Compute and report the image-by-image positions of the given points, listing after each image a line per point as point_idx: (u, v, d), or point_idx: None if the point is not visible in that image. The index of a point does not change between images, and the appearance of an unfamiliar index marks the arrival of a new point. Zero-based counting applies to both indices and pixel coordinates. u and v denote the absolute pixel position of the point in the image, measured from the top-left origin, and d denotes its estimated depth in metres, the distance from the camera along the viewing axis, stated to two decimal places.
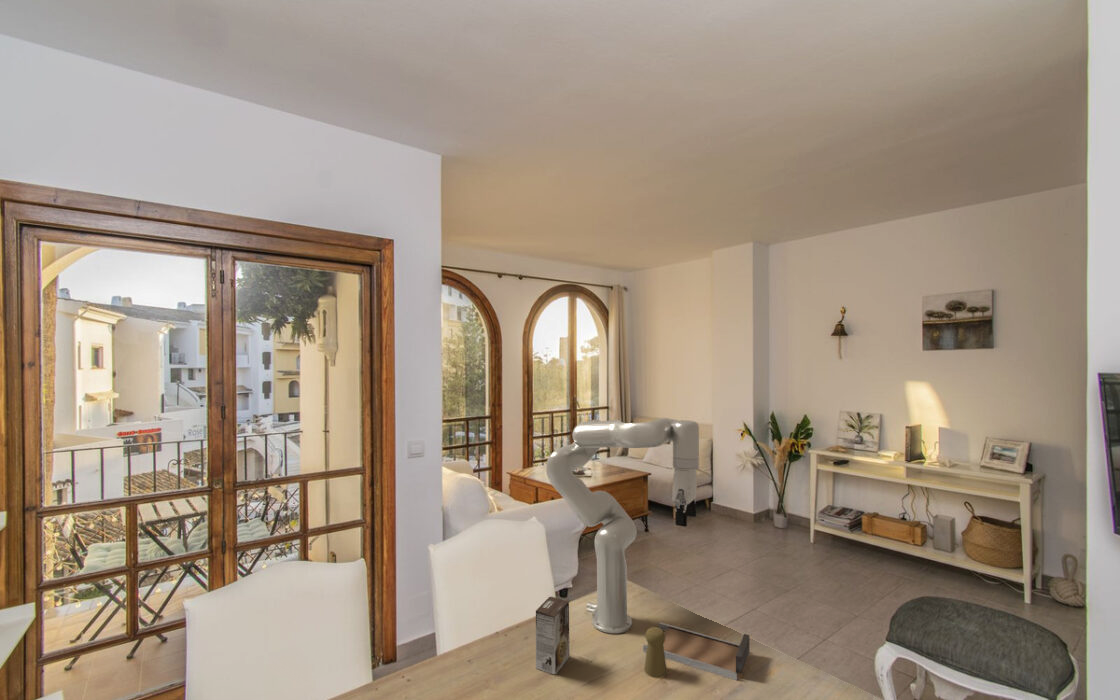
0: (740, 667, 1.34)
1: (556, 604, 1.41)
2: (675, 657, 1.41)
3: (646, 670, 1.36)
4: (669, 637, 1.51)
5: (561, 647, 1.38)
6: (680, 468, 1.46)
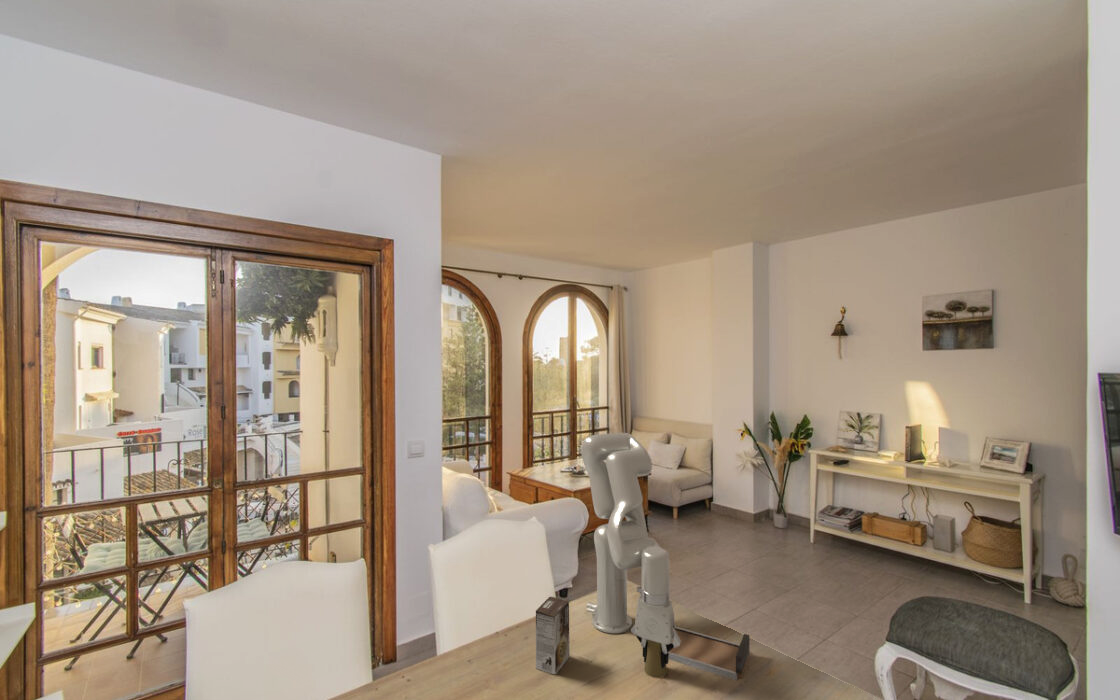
0: (740, 667, 1.34)
1: (556, 604, 1.41)
2: (675, 657, 1.41)
3: (646, 670, 1.36)
4: None
5: (561, 647, 1.38)
6: (667, 603, 1.35)
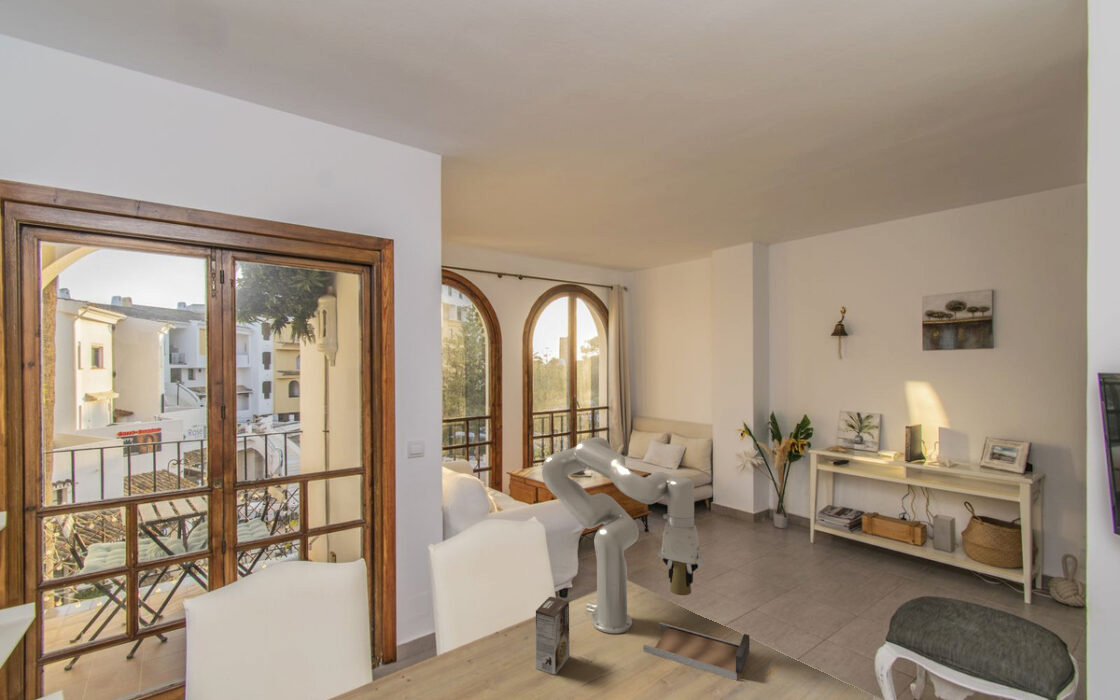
0: (740, 667, 1.34)
1: (556, 604, 1.41)
2: (675, 657, 1.41)
3: (672, 589, 1.47)
4: (669, 637, 1.51)
5: (561, 647, 1.38)
6: (692, 526, 1.46)
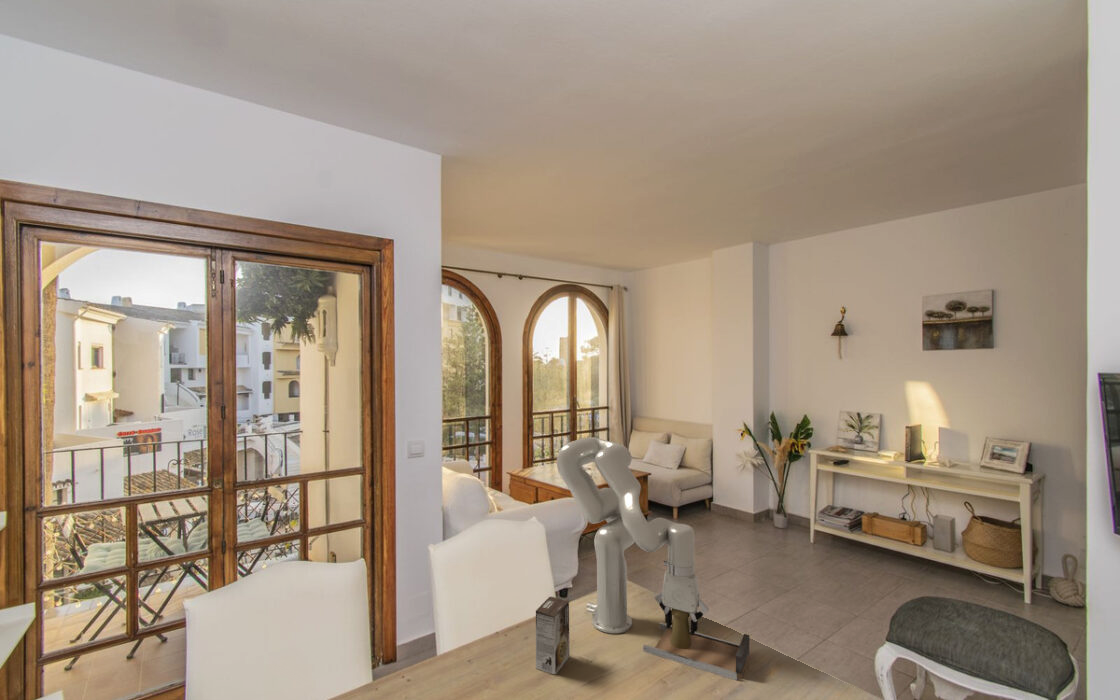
0: (740, 667, 1.34)
1: (556, 604, 1.41)
2: (675, 657, 1.41)
3: (672, 642, 1.47)
4: (669, 637, 1.51)
5: (561, 647, 1.38)
6: (693, 575, 1.46)
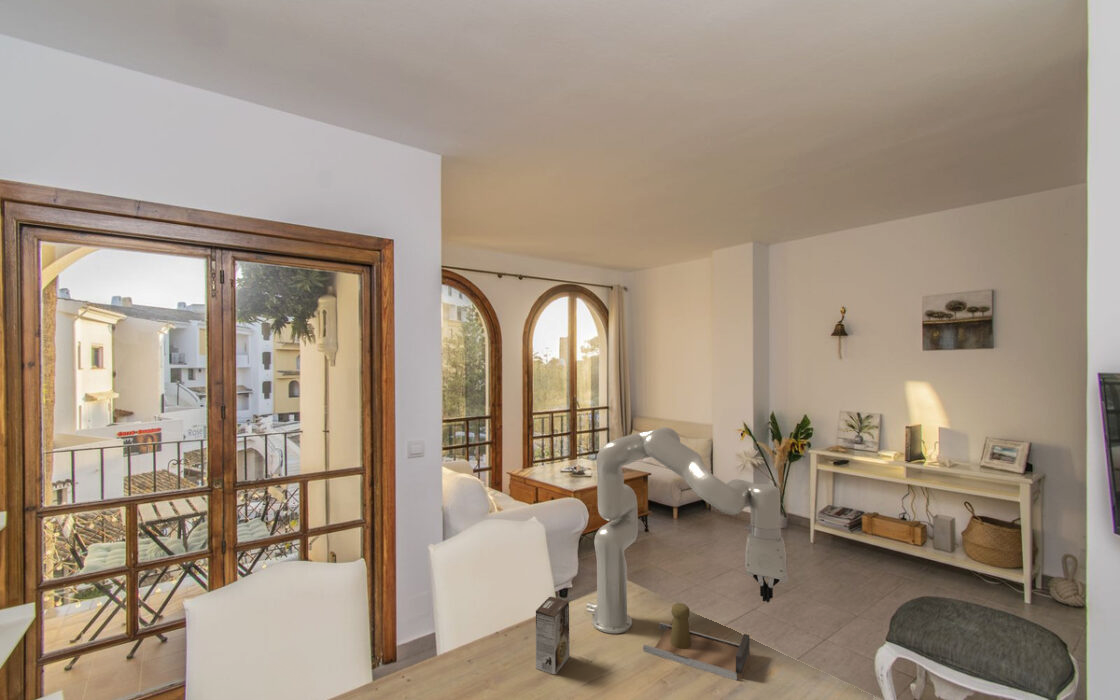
0: (740, 667, 1.34)
1: (556, 604, 1.41)
2: (675, 657, 1.41)
3: (672, 642, 1.47)
4: (669, 637, 1.51)
5: (561, 647, 1.38)
6: (780, 538, 1.34)
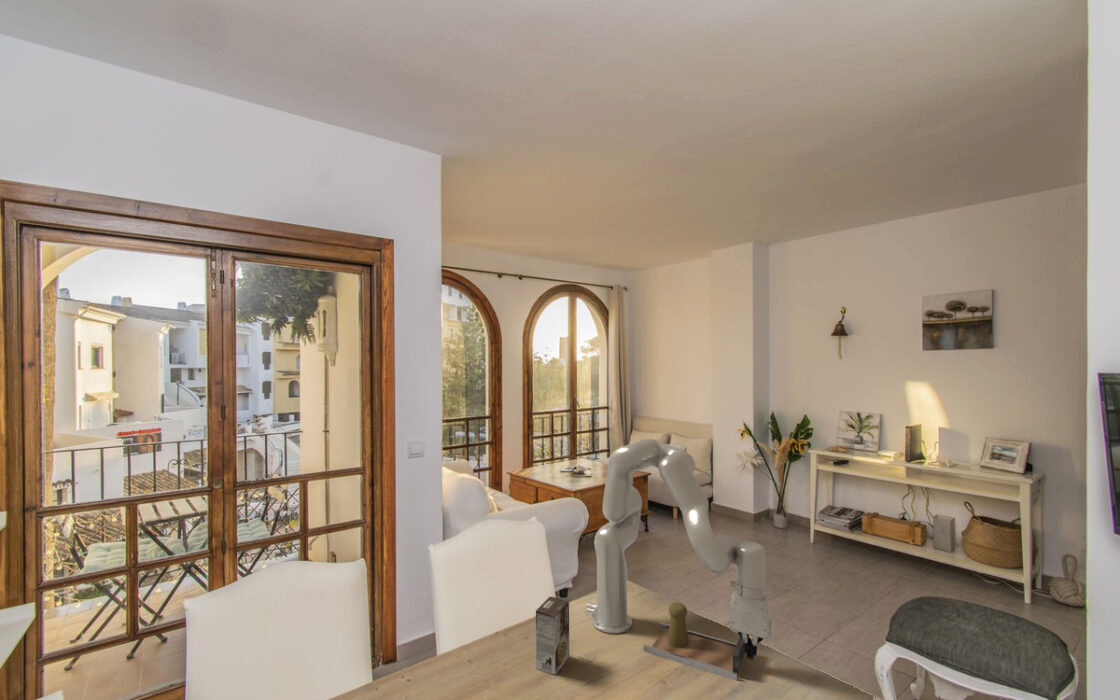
0: (737, 666, 1.34)
1: (556, 604, 1.41)
2: (675, 657, 1.41)
3: (669, 641, 1.47)
4: (667, 636, 1.51)
5: (561, 647, 1.38)
6: (764, 597, 1.36)
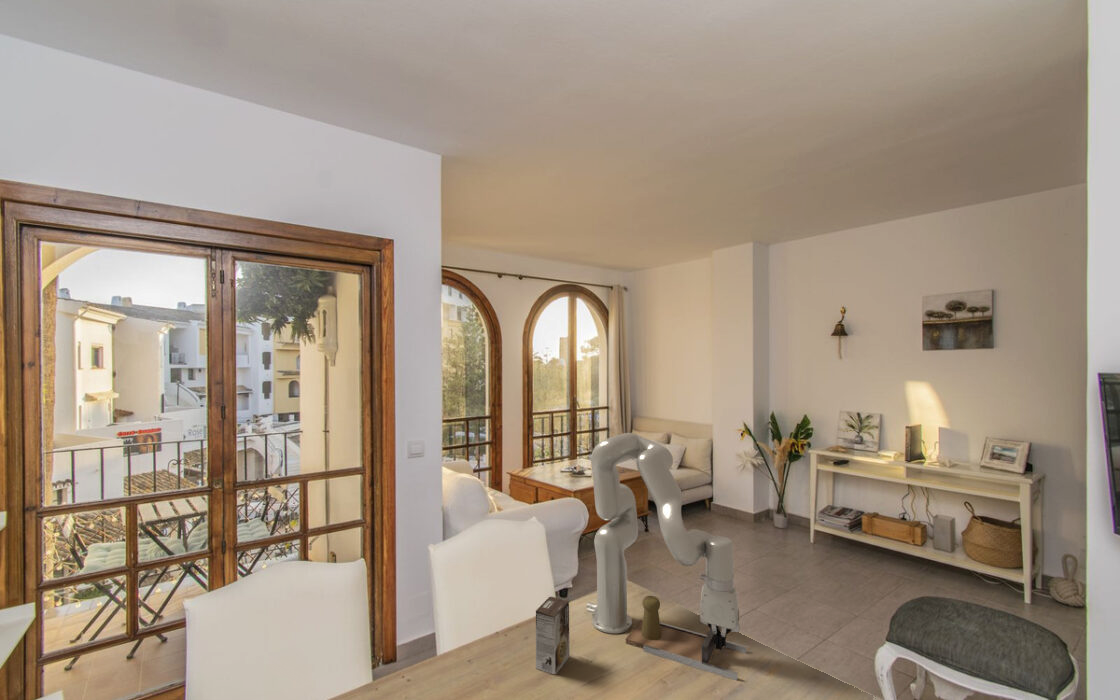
0: (706, 657, 1.38)
1: (556, 604, 1.41)
2: (675, 657, 1.41)
3: (643, 633, 1.51)
4: (641, 628, 1.55)
5: (561, 647, 1.38)
6: (732, 589, 1.40)
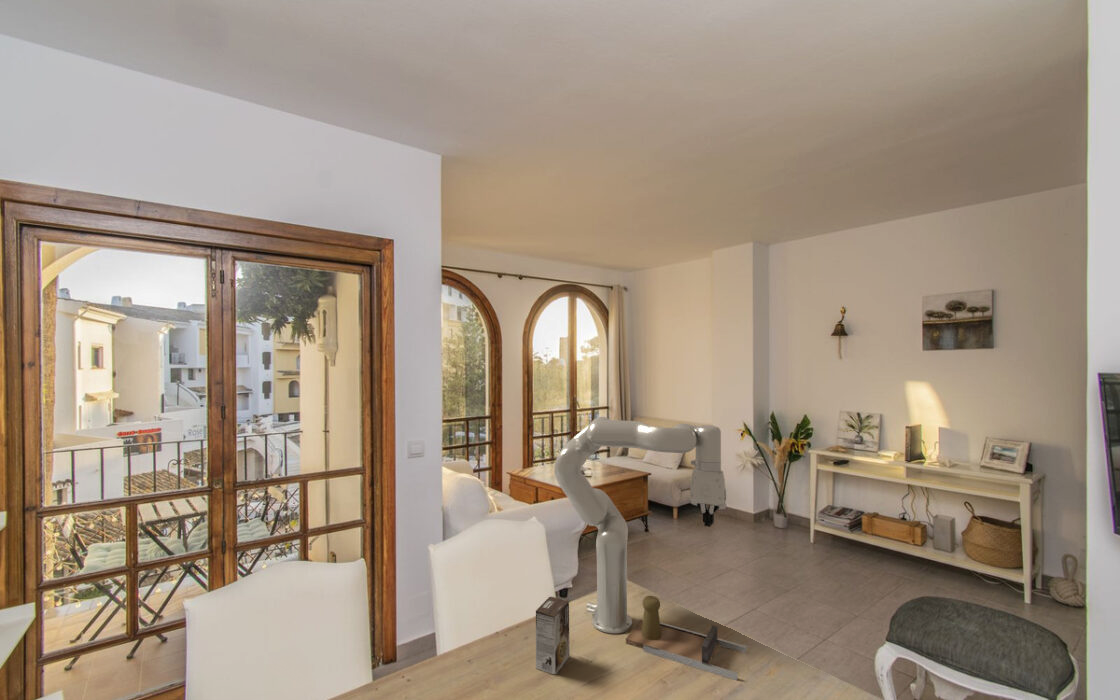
0: (706, 657, 1.38)
1: (556, 604, 1.41)
2: (675, 657, 1.41)
3: (643, 634, 1.51)
4: (641, 628, 1.55)
5: (561, 647, 1.38)
6: (719, 470, 1.54)
